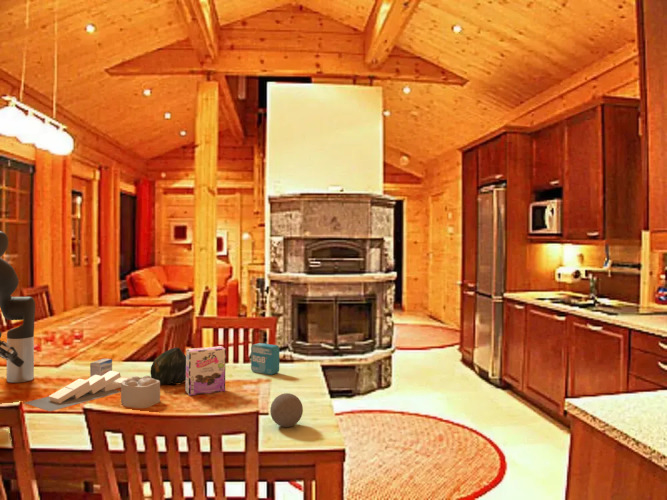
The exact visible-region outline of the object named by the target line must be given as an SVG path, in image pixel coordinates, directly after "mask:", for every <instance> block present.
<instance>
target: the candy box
mask: <svg viewBox="0 0 667 500" xmlns="http://www.w3.org/2000/svg"><path fill="white" fill-rule="evenodd" d="M226 352H227V350H226V348H225V347H223V346H221V345H219V346H218V345H217V346H207V347H197V348H195V347H194V348H193V347H192V348H186V349H185V356H186V380H185V391H184V392H185V394H187V395H188V396H197V395H199V396H200V395H205V394H207V393H208V394H215V393H222V392H221V391H224V392H226V354H227V353H226ZM214 392H215V393H214ZM208 394H207V395H208Z"/></svg>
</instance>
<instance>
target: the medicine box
mask: <svg viewBox="0 0 667 500" xmlns="http://www.w3.org/2000/svg"><path fill="white" fill-rule="evenodd" d="M89 365H90V366H89V367H90V369H89V373H90V374H89V376H90V377H92V376H94V375H99V376H102V375H104V374H106V373H107V372H109V371H113V359H111V358H101V359H98V360H95V361H93V362H90V364H89ZM90 377H89V378H90Z"/></svg>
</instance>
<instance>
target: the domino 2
mask: <svg viewBox="0 0 667 500" xmlns="http://www.w3.org/2000/svg"><path fill="white" fill-rule="evenodd" d="M86 380H88V381H89V383H90V386H88V387H86V388H85V389H83V390H81V391H80V392H78V393H76V394H75V395H73V396H71V397H72V398H75V399H77V398H79V397H81V396H82V395H84V394H85V393H87V392H89V391H90V390H92V389H94V388H95V387H97V386H98V385H100V384H102V383H103V382H105V381H106V380H105V377H103V376H99V375H94V376H92V377H89V378H87V379H86Z"/></svg>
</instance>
